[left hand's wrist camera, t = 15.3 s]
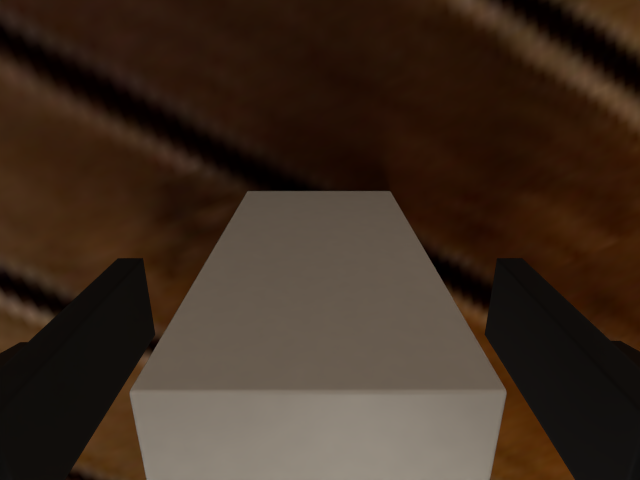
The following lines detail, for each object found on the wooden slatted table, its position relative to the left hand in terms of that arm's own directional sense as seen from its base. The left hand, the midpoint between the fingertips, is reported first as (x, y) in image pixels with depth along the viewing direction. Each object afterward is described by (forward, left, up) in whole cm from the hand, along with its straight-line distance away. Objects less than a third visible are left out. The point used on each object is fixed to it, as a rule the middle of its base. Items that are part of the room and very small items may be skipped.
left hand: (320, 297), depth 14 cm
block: (0, 0, -3) cm, 3 cm away
